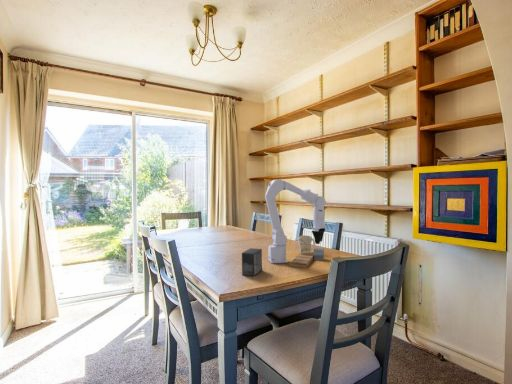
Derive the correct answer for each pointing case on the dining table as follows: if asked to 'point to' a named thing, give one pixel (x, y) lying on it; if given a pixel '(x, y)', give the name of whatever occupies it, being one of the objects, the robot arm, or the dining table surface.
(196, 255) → the dining table surface
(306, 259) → the board
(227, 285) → the dining table surface
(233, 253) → the dining table surface
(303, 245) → the mug
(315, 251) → the gauge
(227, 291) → the dining table surface
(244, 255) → the small box
